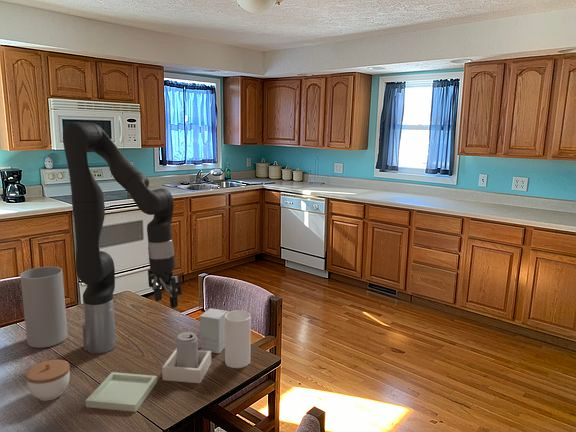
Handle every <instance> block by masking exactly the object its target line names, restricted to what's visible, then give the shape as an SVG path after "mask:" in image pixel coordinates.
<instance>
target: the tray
mask: <svg viewBox="0 0 576 432" xmlns="http://www.w3.org/2000/svg"><path fill="white" fill-rule="evenodd" d="M157 383H158V376H157V375H149V374H140V373H139V374H137V373H125V372H116V371H115V372H114V371H112V372H111V373H110V374H108V375H107V377H106V378H105V379H104V380H103V381H102V382H101V383H100V384H99V386H98V387H96V388H95V390H93V392H91V394H90V395H89V396H88V397H87V398H86V399H85V407H86V408H91V409H92V408H93V409H102V410H114V411H123V412H133V413H136V412H137V411H138V410H139V408H140V407H141V405H143V403H144V401H145V400H146V398H147V397H148V396H149V394H150V393H151V391H152V390H153V389H154V388H155V386H156V385H157Z"/></svg>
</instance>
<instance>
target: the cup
mask: <svg viewBox="0 0 576 432" xmlns="http://www.w3.org/2000/svg"><path fill="white" fill-rule="evenodd" d="M251 316H252V315H251V314H250V312H249V311H246V310H240V309H239V310H238V309H237V310H231V311H228V313H227V314H226V315H225V348H224V363H225V365H226V366H227V367H228V368H231V369H241V368H245V367H248V366H249V365H250V363H251V339H252V338H251V334H252V333H251V329H252V328H251V326H252V325H251V321H252V320H251V318H252V317H251ZM248 364H249V365H248Z"/></svg>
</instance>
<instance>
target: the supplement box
mask: <svg viewBox="0 0 576 432" xmlns="http://www.w3.org/2000/svg"><path fill="white" fill-rule="evenodd" d="M228 312H229V311H228V310H223V309H218V308H217V309H216V308H211V307H210V308H208V309H207V310H205V312H203V313H202V314H200V315H199V332H200V333H199V335H200V336H199V337H200V339H199V340H200V341H199V342H200V350H205V351H211V353H213V354H214V353H215V354H220V353H222V352H223V350H225V315H226V314H227V313H228Z"/></svg>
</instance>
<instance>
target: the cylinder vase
mask: <svg viewBox="0 0 576 432" xmlns="http://www.w3.org/2000/svg"><path fill="white" fill-rule="evenodd" d="M19 276H20V284H21V285H20V286H21V294H22V297H21V298H22V306H23V314H24V317H23V318H24V325H25V334H26V343H27V345H28V346H29V347H32V348H34V349H44V348H51V347H53V346H56V345H59V344H61V343H63V342H64V341H66V339H67V338H68V335H69V334H68V333H69V332H68V322H67V311H66V299H65V285H64V272H63V268H61V267H58V266H41V267H35V268H34V267H33V268H31V269H30V268H29V269H27V270H25V271H23V272H21V273H20V274H19Z"/></svg>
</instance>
